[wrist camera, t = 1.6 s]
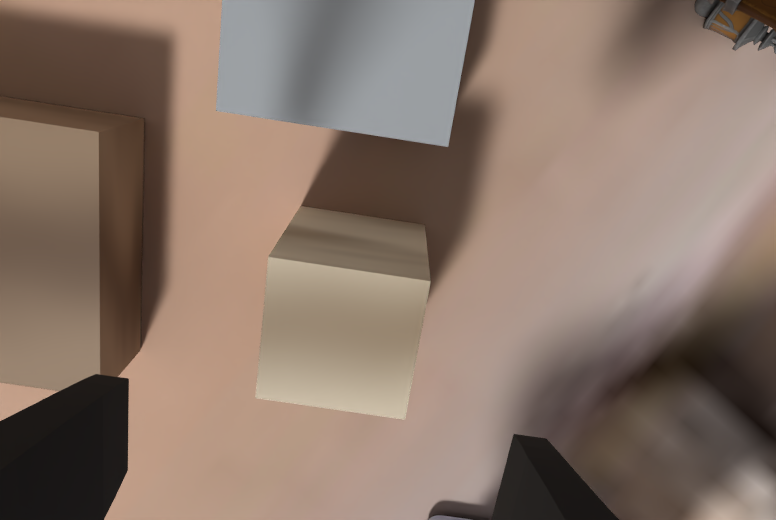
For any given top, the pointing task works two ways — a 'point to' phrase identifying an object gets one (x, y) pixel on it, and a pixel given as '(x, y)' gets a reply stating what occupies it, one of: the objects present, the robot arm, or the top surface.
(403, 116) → the slate grey block
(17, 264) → the tan square slab
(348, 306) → the maple block
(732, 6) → the toy blunderbuss
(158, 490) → the top surface
